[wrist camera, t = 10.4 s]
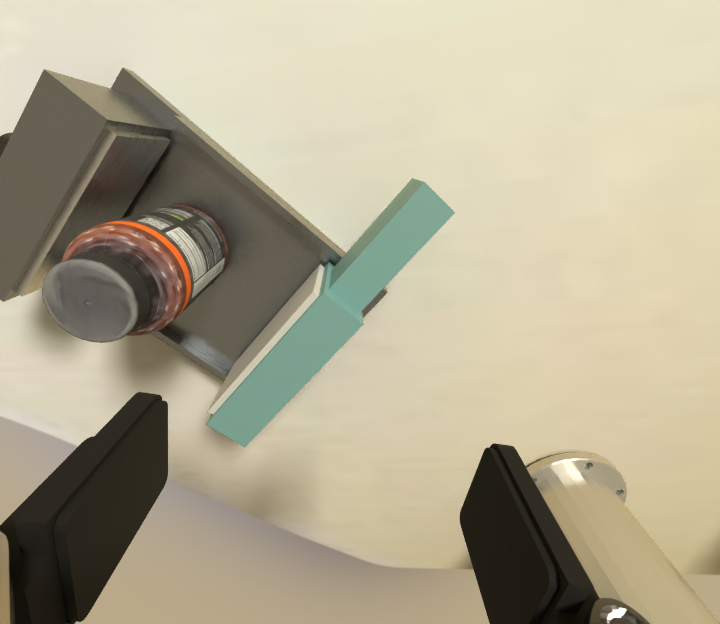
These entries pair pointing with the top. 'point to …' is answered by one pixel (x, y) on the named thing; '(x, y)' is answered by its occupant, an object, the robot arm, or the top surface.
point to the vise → (149, 205)
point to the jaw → (323, 315)
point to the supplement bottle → (134, 273)
